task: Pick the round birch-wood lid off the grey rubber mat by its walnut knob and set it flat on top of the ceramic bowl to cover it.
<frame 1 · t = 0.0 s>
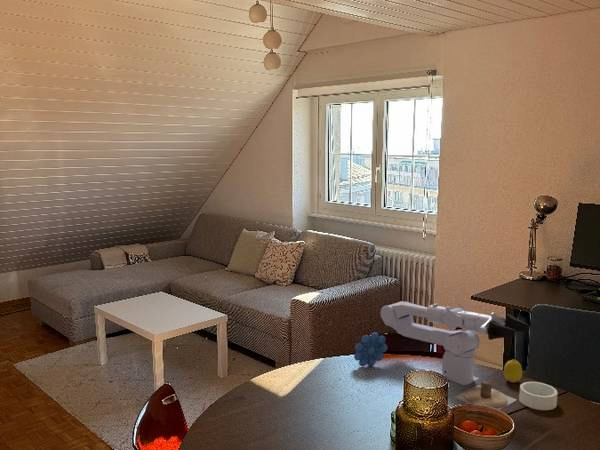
hand: (521, 330, 166), 22 cm above the table, tool horizontal, fingers open, 7 cm apart
lemon: (512, 383, 181), on the table
lid: (485, 398, 169), point 1 cm above the table, touching mat
grapes: (369, 365, 195), on the table
mat: (485, 400, 170), on the table
bowl: (537, 403, 168), on the table
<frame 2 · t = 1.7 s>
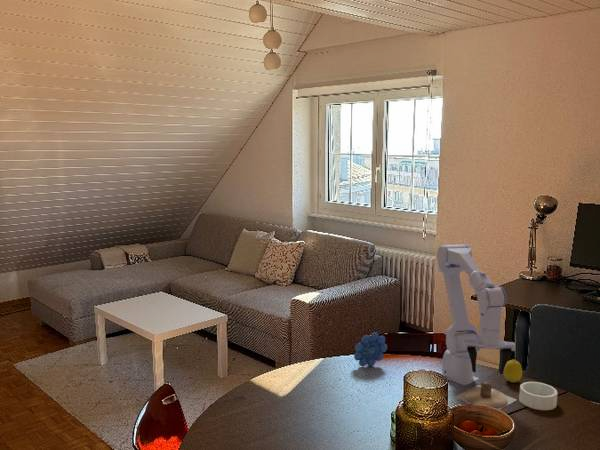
hand: (487, 371, 168), 9 cm above the table, tool pointing down, fingers open, 7 cm apart
nothing on the table moved.
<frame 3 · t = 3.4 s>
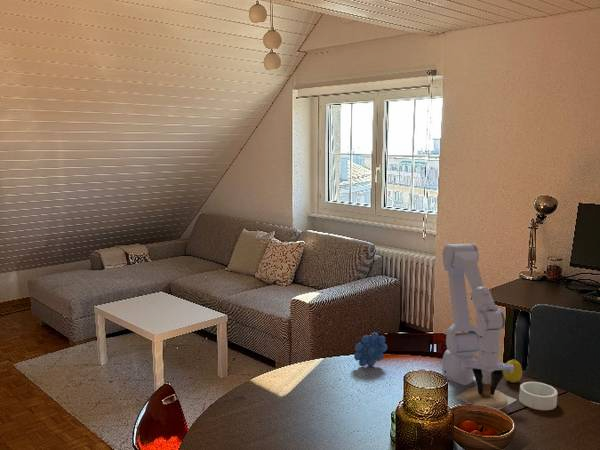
hand: (485, 393, 169), 2 cm above the table, tool pointing down, fingers closed on lid, 3 cm apart
lid: (485, 398, 169), point 1 cm above the table, touching gripper, mat
everything else where it was.
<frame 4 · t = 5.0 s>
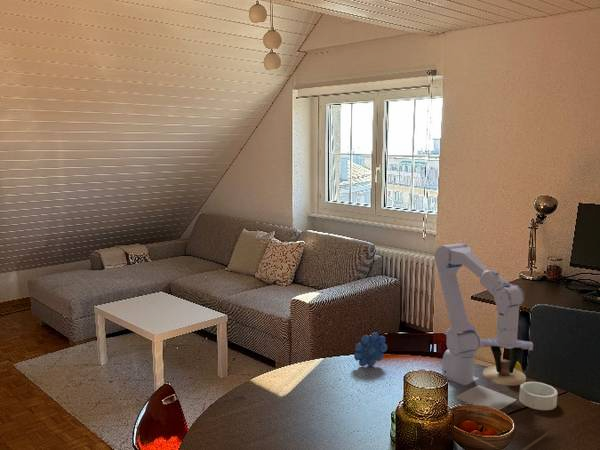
hand: (504, 371, 167), 9 cm above the table, tool pointing down, fingers closed on lid, 3 cm apart
lid: (504, 376, 168), point 8 cm above the table, touching gripper
everything else where it was.
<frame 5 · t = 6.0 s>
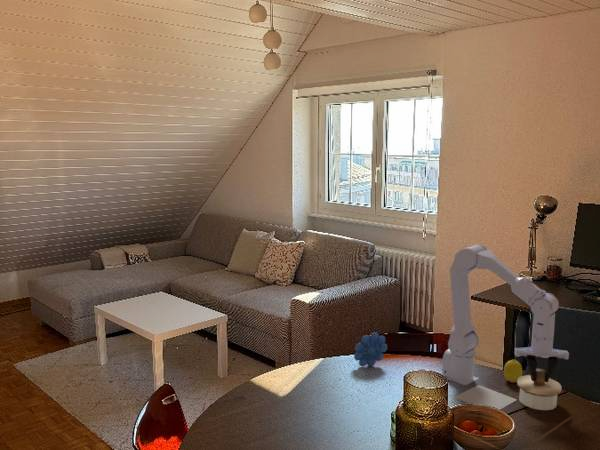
hand: (539, 380, 166), 7 cm above the table, tool pointing down, fingers closed on lid, 3 cm apart
lid: (538, 386, 167), point 5 cm above the table, touching gripper
everything else where it was.
when the fingers open (7 cm above the table, at t = 6.7 s): lid stays where it is, resting on bowl.
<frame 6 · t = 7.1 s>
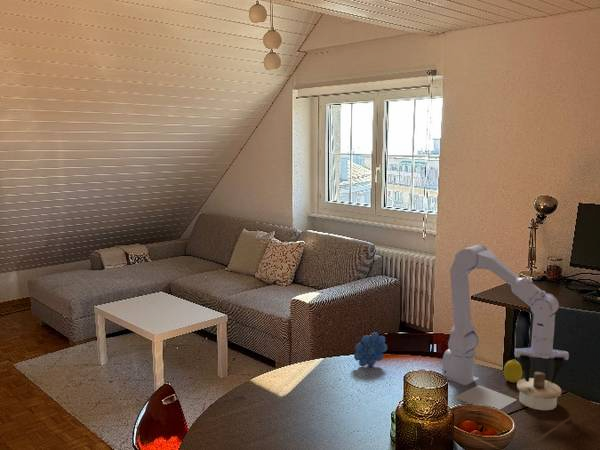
hand: (539, 380, 167), 7 cm above the table, tool pointing down, fingers open, 6 cm apart
lid: (538, 389, 167), point 4 cm above the table, touching bowl
everything else where it was.
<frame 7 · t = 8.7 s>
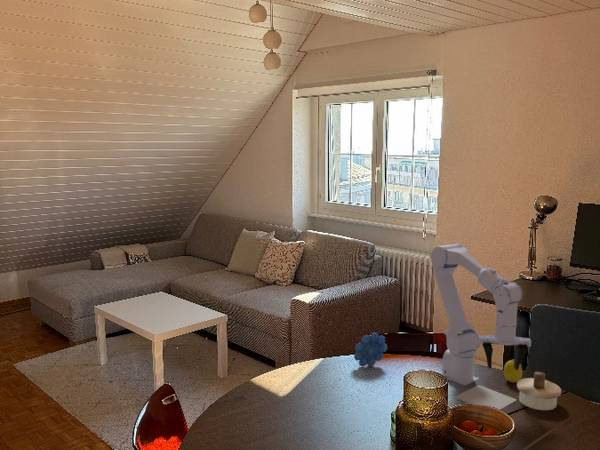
hand: (502, 367, 169), 10 cm above the table, tool pointing down, fingers open, 7 cm apart
nothing on the table moved.
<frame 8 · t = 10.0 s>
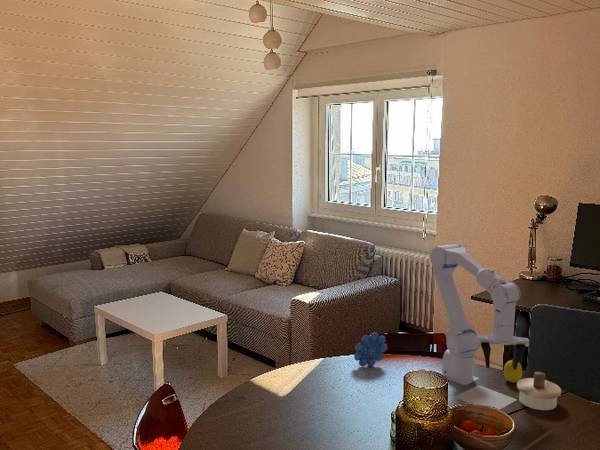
hand: (500, 367, 169), 10 cm above the table, tool pointing down, fingers open, 7 cm apart
nothing on the table moved.
at the end: lid 0.1 cm off-centre on the bowl, point 4.5 cm above the bowl's base; lid tilted 0°; the gripper is holding nothing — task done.
